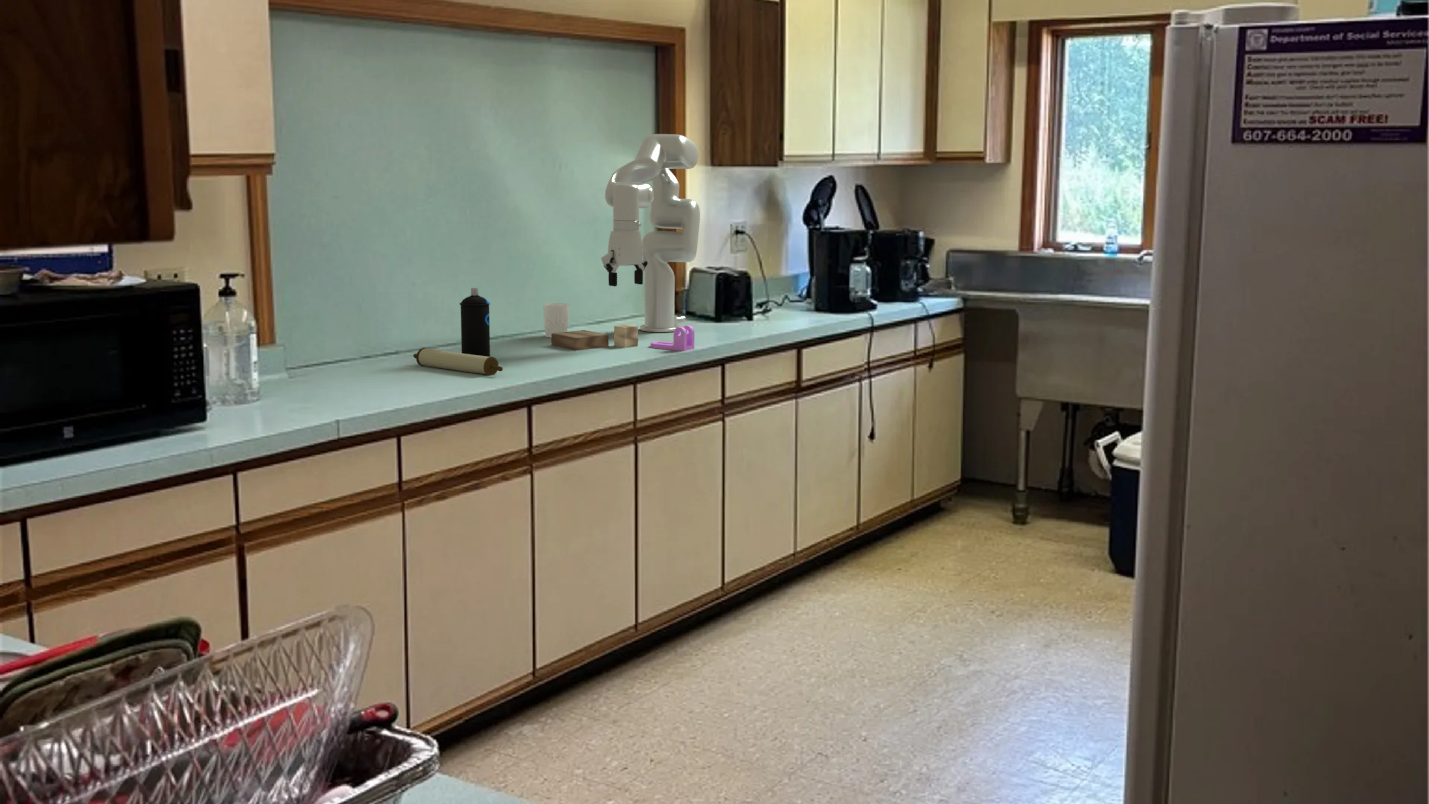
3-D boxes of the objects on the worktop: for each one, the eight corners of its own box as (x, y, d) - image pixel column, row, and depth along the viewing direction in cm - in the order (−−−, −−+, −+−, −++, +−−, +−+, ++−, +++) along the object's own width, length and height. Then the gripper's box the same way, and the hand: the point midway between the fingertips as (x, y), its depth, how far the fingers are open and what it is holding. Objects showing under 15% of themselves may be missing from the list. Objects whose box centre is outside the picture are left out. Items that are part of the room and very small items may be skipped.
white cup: (571, 335, 428) (571, 303, 426) (566, 338, 420) (566, 306, 418) (546, 334, 428) (546, 302, 427) (540, 338, 421) (540, 305, 419)
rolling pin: (406, 365, 368) (405, 347, 367) (421, 363, 372) (421, 345, 371) (494, 379, 350) (494, 359, 349) (510, 376, 354) (509, 357, 353)
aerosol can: (465, 363, 371) (464, 290, 367) (456, 359, 378) (455, 286, 374) (495, 361, 375) (494, 288, 371) (485, 357, 382) (484, 285, 378)
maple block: (627, 344, 411) (627, 324, 410) (637, 346, 407) (637, 326, 406) (614, 345, 408) (614, 325, 406) (624, 347, 404) (624, 327, 403)
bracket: (694, 349, 404) (694, 325, 403) (684, 351, 399) (684, 327, 398) (657, 345, 410) (657, 322, 409) (646, 347, 406) (647, 324, 404)
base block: (583, 343, 414) (583, 330, 413) (608, 348, 406) (608, 334, 405) (551, 346, 406) (551, 333, 405) (575, 351, 398) (575, 338, 397)
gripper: (640, 225, 409) (640, 282, 412) (594, 226, 398) (594, 285, 401) (657, 226, 404) (656, 284, 407) (610, 228, 392) (610, 287, 395)
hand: (625, 285), depth 404 cm, fingers open, 9 cm apart
